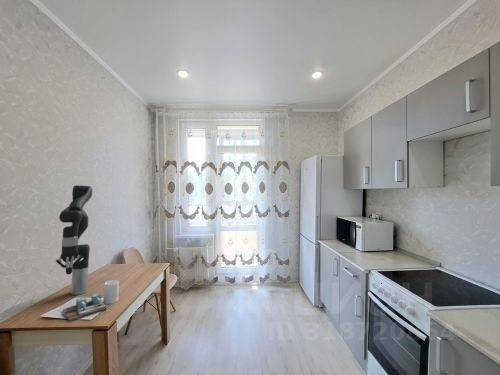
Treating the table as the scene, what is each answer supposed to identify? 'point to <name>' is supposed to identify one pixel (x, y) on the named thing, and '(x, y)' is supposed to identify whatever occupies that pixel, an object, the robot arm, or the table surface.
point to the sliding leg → (81, 303)
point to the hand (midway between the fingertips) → (68, 273)
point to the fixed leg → (96, 299)
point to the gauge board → (74, 313)
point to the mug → (111, 292)
